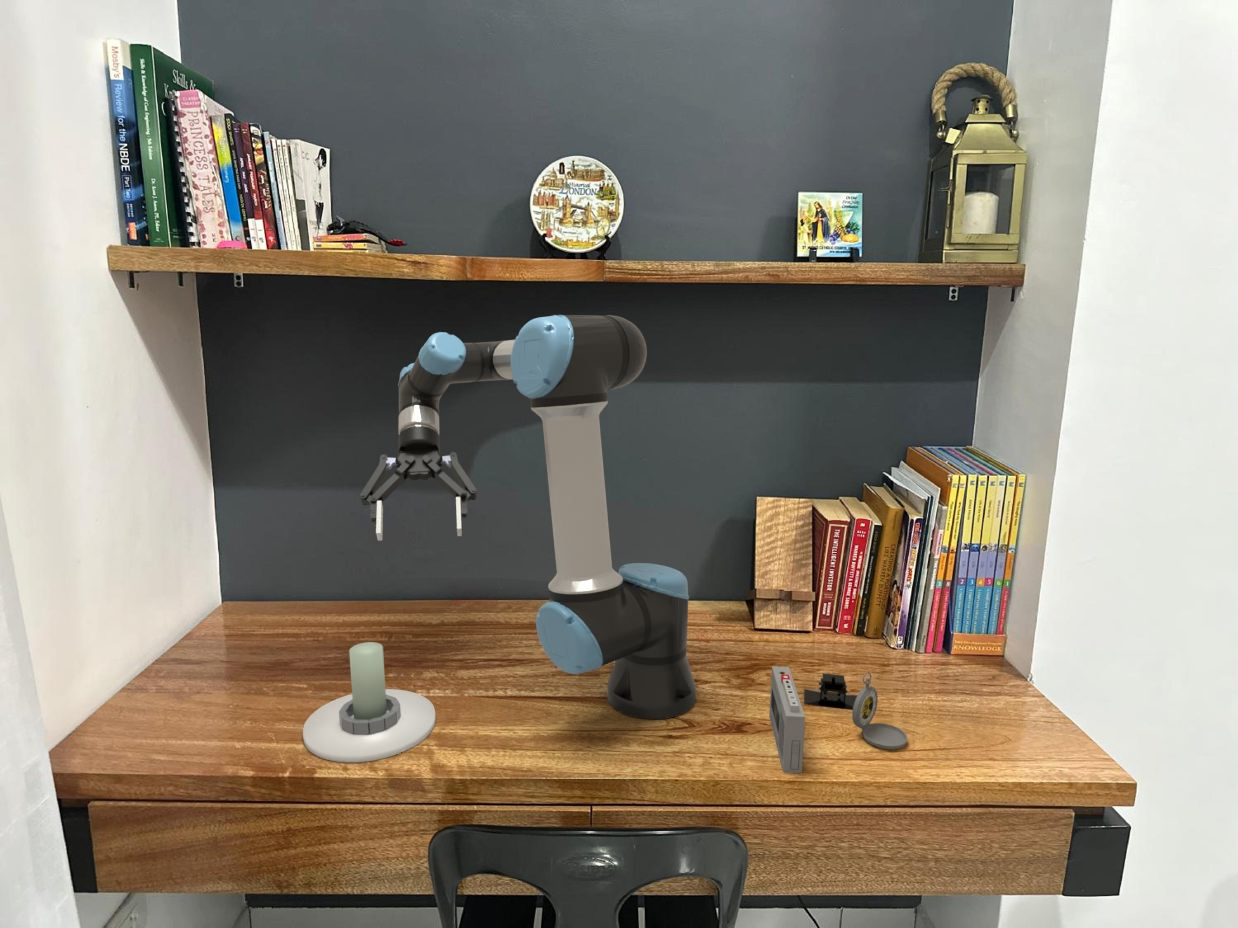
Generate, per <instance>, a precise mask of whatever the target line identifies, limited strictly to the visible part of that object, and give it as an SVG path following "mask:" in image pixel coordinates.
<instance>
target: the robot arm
mask: <svg viewBox="0 0 1238 928" xmlns="http://www.w3.org/2000/svg"><path fill="white" fill-rule="evenodd" d="M647 355H648V352H647V344H646V340H645V337H644V336H643V334H642V331H641V330H640V329H639V328H638V327H637V326H636V325H635V324H634V323H633V322H631V321H629V320H628V319H625V317H621V316H618V315H611V314H603V315H602V314H601V315H582V314H581V315H580V314H579V315H577V314H576V315H575V314H573V315H572V314H570V315H569V314H558V315H556V314H554V315H550V316H541V317H536V318H532V319H531V320H529V321H528V322H527V323H525V324H524V325H523V326H522V327H521V329H520V330H519V332H518V335H516V337H515V339H509V340H499V341H485V342H484V341H483V342H482V341H481V342H463V341H462V340H461V338H459V337H457V336H456V335H455V334H450V333H448V332H441V331H439V332H435V333H433V334H431V336H429V338H428V339H427V341H426V342H425V343H424V345H422V346H421V348H420V350H419V352H418V355H417V357H416V359H415V361H414V362H412V363H410V364H409V365H408V366H404V367H403V368H402V369H401V370H400V373H399V381H398V383H397V387H398V439H397V442H398V447H397V448H398V449H397V450H398V451H397V456H396V457H388V455H387V454H381V455H380V456H379V462H378V466H377V467H376V468H375V470H374V472H373V474H372V475H371V477H370V478H369V480H368V481H367V483H366V484H365V486H364V487H363V489H362V491H361V492H360V494H359V498H360V501H361V502H360V503H361V505H363V506H369V507H370V508H369V509H370V510H369V511H370V512H369V516H370V517H369V518H370V520H371V522H372V523H376V525H375V527H376V528H375V534H376V540H377V541H383V527H384V526H383V525H384V524H383V523H384V506H383V502H384V501H386V500H387V498H388V497H390V495H391V494H393V492H394V491H396V490H397V488H398V487H399V486H400V485H402V484H405V482H406V481H407V480H408V479H409V480H410V481H418V480H424V481H427V480H429V479H433V480H434V481H435V482H436V483H439V484H440V485H441V486H442V487H443V488H444V489H445V490H446V491H447V492H448V493H449V494H451V495H452V496H453V497H454V498H455V506H456V507H455V508H456V510H455V511H456V512H455V513H456V534H457V537H462V535H463V532H462V529H463V528H462V518H467V517H468V503H469V501H475V500H477V498H478V495H477V487H476V486H475V484H473V482H472V480H471V479H470V477H469V476H468V474H467V473H466V471H465V470H464V469H463V467H462V465H461V464H460V462H459V460H458V455H457V453H456V452H455V451H452V452H450V453H449V455H442V454H441V451H440V450H441V447H440V446H441V445H440V441H441V439H440V400H441V398H442V396H443V394H444V393H445V392H446V390H447V388H448V387H449V386H450V385H452V384H463V383H464V384H465V383H474V382H488V381H509V380H513V384H515V385H516V389H517V390H518V392H520V394H522V395H523V396H524V397H526V398H528V399H529V400H530V410H531V411H532V412H534V413H535V414H536V415H537V416H538V417H540V419H541V421H542V427H543V428H542V432H543V440H544V449H545V462H546V470H547V471H546V472H547V482H548V483H547V484H548V493H549V505H550V514H551V523H552V525H551V526H552V534H553V535H552V538H553V545H554V555H555V556H554V557H555V567H556V573H555V575H554V577H553V578H552V580H551V581H550V582H549V583H548V584H547V585H548V586H547V587H548V598H549V599H548V600H549V601H547V602H545V603H544V604H543V605H541V607H539V609H538V612H537V614H536V616H535V617H536V618H535V627H536V634H537V638H538V640H539V643H540V645H541V648H542V650H543V651H544V653H545V654H546V656H548V658H549V660H550V661H551V662H552V663H553V664H554V665H555V666H556V667H557V668H558V669H560V670H561V671H563V672H565V673H567V674H572V675H579V674H580V675H581V674H583V673H586V672H590V671H596V670H599V669H600V668H601V667H603V666H605V665H608V664H611V663H613V662H614V663H613V667H612V669H611V671H610V672H611V673H610V674H609V679H608V680H607V689H606V690H607V691H606V692H607V693H606V694H607V695H606V697H607V698H606V699H607V701H608V703H609V705H610V706H611V707H613V709H615V710H616V711H618V712H620V713H622V714H624V715H627V716H629V717H632V718H633V717H634V718H638V719H645V720H662V719H670V718H673V717H677V716H680V715H682V714H684V713H687V712H688V711H690V710H691V709H692V707H693V706H694V705H695V703H696V697H697V696H696V694H697V693H696V692H697V688H696V682H695V678H694V675H693V673H692V669H691V666H690V663H689V659H688V657H687V650H688V647H687V646H688V645H687V644H688V624H689V623H688V619H689V600H690V595H689V589H688V588H689V585H688V583H689V582H688V579H687V577H686V575H685V574H684V573H682V572H681V570H680V571H679V570H678V569H675V568H673V567H670V566H666V565H661V564H656V563H650V562H647V563H646V562H645V563H644V562H634V563H633V562H632V563H625V564H624V565H623V564H622V565H621V566H620V567H619V569H618V572H617V571H616V570H614V568H613V563H612V561H613V560H612V553H611V552H612V551H611V550H612V549H611V541H610V530H609V519H608V518H609V517H608V506H607V505H608V504H607V494H606V493H607V492H606V483H605V482H606V481H605V473H604V472H605V471H604V459H603V449H602V448H603V446H602V438H601V437H602V436H601V427H600V426H601V425H600V414H601V412H602V411H603V409H604V408H606V407H607V406H606V405H608V403H609V401H608V400H609V399H608V391H609V390H610V391H611V390H616V389H620V388H623V387H625V386H627V385H629V384H630V383H632V382H634V381H635V380H636V379H637V378H638V377H639V375H640V374H641V373H642V371H643V370H644V367H645V365H646V362H647ZM443 464H444V465H446V467H448V468H449V469H451V471H452V473H453V474H454V477H456V478H457V481H458V483H460V485H461V486H460V485H459V484H457V482H455V481H454V480H453V479H452V478H451V477H450V476H449V475H447V474H446V473H445V472H444V471H443V469H442V468H441V467H442V466H443ZM394 466H395V467H396V470H395V472H394V473H393V474H392V475H391V476H390V477H389V478H388V479H387V480H386V481H385V482H384V483H383V480H384V479H385V477H386V475H387V474H388V471H390V470H392V468H393V467H394ZM382 483H383V484H382ZM381 484H382V485H381Z"/></svg>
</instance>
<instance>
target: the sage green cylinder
mask: <svg viewBox="0 0 1238 928" xmlns="http://www.w3.org/2000/svg"><path fill="white" fill-rule="evenodd" d="M348 652H349V653H348V654H349V665H350V667H349V668H350V680H351V694H352V698H353V713H354V719H357V720H369V719H373V718H377V717H381V716H383V715H385V714H386V713H387V708H386V691H385V689H386V679H385V678H386V677H385V676H386V675H385V662H384V661H385V658H384V645H382V643H379V642H373V641H368V642H366V641H365V642H361V643H357V644H355V645H353V646H351V648H349V651H348Z"/></svg>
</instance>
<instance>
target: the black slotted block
mask: <svg viewBox="0 0 1238 928" xmlns="http://www.w3.org/2000/svg"><path fill="white" fill-rule="evenodd" d="M818 685H819V687H818V690H814V689H808V688H805V689H804V690H803V697H804V698H803V701H804V703H803V704H804V705H808V706H815V707H816V706H817V707H825V708H831V709H832V708H833V709H842V710H849V711H853V707H854V703H855V700H856V698H857V696H858V694H852V693H850V694H849V693H848V690H847V683H846V680H845V675H841V674H831V673H822V677H821V678H820V681H819V682H818Z"/></svg>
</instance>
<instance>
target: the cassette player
mask: <svg viewBox="0 0 1238 928" xmlns="http://www.w3.org/2000/svg"><path fill="white" fill-rule="evenodd" d="M790 669H791V668H790V666H775V665H773V666H771V680H770V694H769V695H770V696H769V698H770V699H769V716H768V717H769V720H770V726H771V729H772V732H773V738H774V741H775V745H776V748H777V754H778V757H779V758H778V759H779V761H780V766H781V770H782V773H789V774H790V773H791V774H793V773H794V774H802V772H803V761H804V760H803V759H804V758H803V757H804V744H805V743H804V742H805V728H806V727H805V725H806V715H805V713H804V709H803V706H802V703H801V702H802V701H801V700H800V698H799V697H800V696H799V694H798V693H799V692H798V691H797V688H796V685H795V682H794V679H793V676H792V673H791V670H790Z"/></svg>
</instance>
